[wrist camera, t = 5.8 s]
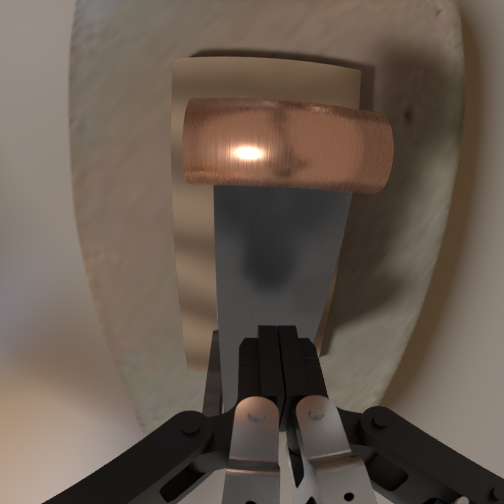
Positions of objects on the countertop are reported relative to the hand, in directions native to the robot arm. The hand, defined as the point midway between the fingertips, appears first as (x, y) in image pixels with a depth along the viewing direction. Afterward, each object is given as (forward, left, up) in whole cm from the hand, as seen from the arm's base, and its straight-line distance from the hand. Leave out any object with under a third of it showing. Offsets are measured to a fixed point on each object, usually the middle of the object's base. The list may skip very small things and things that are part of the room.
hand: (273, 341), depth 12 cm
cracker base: (+1, -1, -16) cm, 16 cm away
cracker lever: (+1, -1, -7) cm, 8 cm away
